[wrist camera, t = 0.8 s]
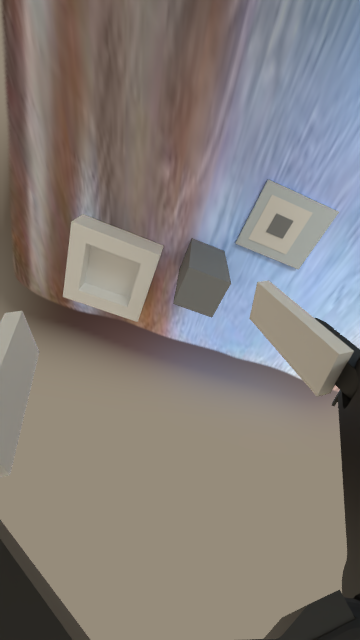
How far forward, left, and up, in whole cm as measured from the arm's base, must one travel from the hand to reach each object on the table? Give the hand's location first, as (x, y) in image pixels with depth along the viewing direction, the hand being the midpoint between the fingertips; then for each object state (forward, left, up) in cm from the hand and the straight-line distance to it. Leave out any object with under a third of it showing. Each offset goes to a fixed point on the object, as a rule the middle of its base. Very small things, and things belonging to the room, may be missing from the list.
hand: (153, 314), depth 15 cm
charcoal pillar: (+7, +6, -31) cm, 32 cm away
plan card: (-3, +16, -31) cm, 35 cm away
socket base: (+14, -8, -31) cm, 35 cm away
